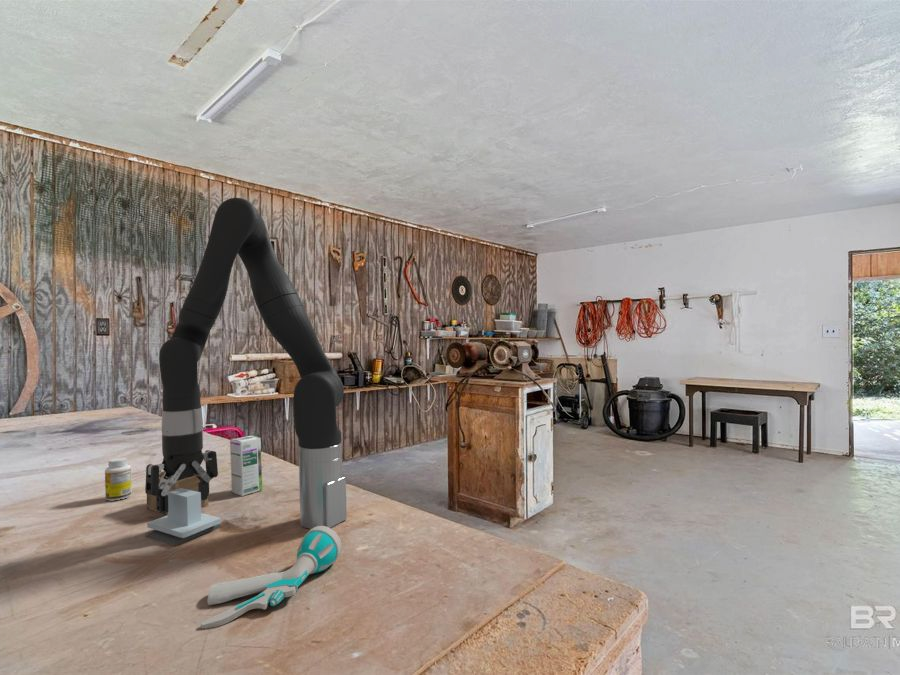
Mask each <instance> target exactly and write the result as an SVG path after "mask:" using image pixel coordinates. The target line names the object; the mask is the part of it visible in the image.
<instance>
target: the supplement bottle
mask: <svg viewBox="0 0 900 675" xmlns="http://www.w3.org/2000/svg"><path fill="white" fill-rule="evenodd" d="M104 479H105V480H104V482H105V483H104V486H105V489H104V490H105V500H106V501H108V500H109V501H108V502H115V501H114V500H118V501H121V500H120V499H123V500H126V499H128V498H130V497H131V496H132V494H133V493H132V489H133V488H132V466H131V465H130V464H128V458H127V457H116V458H111V459H109V460H108V467H106V468H105V469H104ZM125 498H126V499H125Z"/></svg>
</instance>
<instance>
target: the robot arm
mask: <svg viewBox="0 0 900 675" xmlns="http://www.w3.org/2000/svg"><path fill="white" fill-rule="evenodd" d="M211 225H212V226H211V230H210V233H209V236H208V241H207V244H206V247H205V251H204V253H203V256H202V259H201V263H200V266H199V268H198V270H197V273H196V276H195V278H194V281H193V282H192V285H191V287H190V289H189V291H188V293H187V295H186V297H185V299H184V301H183V304H182V306H181V309H180V310H179V313H178V317H177V318H178V320H177V321H178V322H177V325H176V326H175V329H174V331H173V333H172V335H171V337H170V339H167V340H166V341H164V342H163V344H162V345H161V347H160V350H159V353H158V363H159V364H158V365H159V371H160V372H159V373H160V377H161V378H160V379H161V383H162V417H161V446H162V447H161V450H162V451H161V453H162V457H163V459H162V462H161V463H157V464H151V463H149V464H147V465H146V467H145V486H144V487H145V490H144V491H145V494H146V495H147V494H149V495H153V496H156V509H157V511H159V512H158V513H160V514H162V515H166V514H165V513H168V495H167V493H168V491H169V490H170V488H171V487H172V486H173V485H174V484H175V483H176V481H177V480H181V479H184V478H186V477H192V476H196V477H197V478H198V480H199V481H200V482H199V483H198V492H201V500H206V499H207V498H208V499H209V496H210V481H211V480H212V479H214V478H217V477H218V476H219V470H218V469H219V468H218V457H217V451H214V450H209V449H207V450H205V451H204V452H203V449H204V443H203V442H204V438H203V437H204V436H203V435H204V434H203V432H204V431H203V415H202V406H201V388H200V385H199V382H198V362H199V360H200V358H201V357H202V355H203V352H204V349H205V347H206V344H207V340H208V338H209V335H210V332H211V330H212V328H213V326H214V324H215V323H216V320H217V319H218V316H219V314H220V312H221V310H222V308H223V306H224V302H225V301H226V300H225V299H226V296H227V293H228V288H229V284H230V279H231V274H232V270H233V269H232V268H233V266H234V264H235V260H236V257H238V256H239V258H240V260H241V262H242V264H243V266H244V267H245V270H246V273H247V275H248V280H249V282H250V287H251V292H252V296H253V299H254V302H255V305H256V307H257V309H258V310H257V311H259V315H260V316H261V318H262V320H263V323H264V325H265V326H266V328H267V331H269V334H271V336H272V337H273V339H274V340H276V342H277V343H278V344H279V345H280V346H281V347H282V349H283V350H285V352H286V354H287V355H289V357H290V359H292V361H293V364H294V365H295V367H296V369H297V372H298V374H299V377H300V379H299V380H298V381H297V382H296V384H295V388H294V390H293V398H292V399H293V400H292V401H293V402H292V404H293V414H294V415H293V418H294V421H293V422H294V432H295V434H296V437H297V439H298V440H297V441H298V470H299V471H298V473H299V474H298V475H299V478H298V479H299V481H298V482H299V514H300V515H299V516H300V518H299V519H300V521H299V523H300V526H301V527H303V528H306V529H308V530H311V529H312V528H314V527H316V526H326V527H329V528H331V529H332V528H333V527H334V526H336V525H338V524H340V523H342V522H344V521H345V520H347V519H348V517H347V479H346V476H343V454H342V453H343V450H342V449H343V448H342V445H343V444H342V440H343V439H342V431H341V429H340V428H339V427H338V424H337V423H338V422H337V407H338V406H339V405H340V404H341V403H342V401H343V398H344V394H345V391H344V390H345V389H344V388H345V387H344V384H343V382H342V380H341V377H340V376H339V374H338V373H337V371H336V369H335V368H334V366H333V364H332V363H331V361H330V360H329V358H328V356H327V354H326V352H325V351H324V349H323V348H322V346H321V343H320V341H319V338H318V336H317V334H316V330H315V329H314V327H313V324H312V322H311V320H310V318H309V316H308V314H307V310H306V308H305V306H304V304H303V302H302V299H301V297H300V296H299V293H298V292H297V289H296V287H295V286H294V285H293V282H292V280H291V279H290V277H289V275H288V274H287V272H286V271H285V269H284V267H283V265H281V262H280V261H279V259H278V257H277V255H276V252H275V249H274V247H273V244H272V242H271V239H270V236H269V233H268V230H267V226H266V222H265V221H264V218H263V217H262V215H261V214H260V212H259V211H258V210H257V208H256V207H255V206H254V205H253V204H252V203H251V202H250V201H248V200H246V199H245V198H241V197H231V198H227V199H226V200H224V201H222V202H221V203H220V204H219V206H218V208H216V211H215V214H214V217H213V221H212V224H211ZM203 461H204V462H205V469H204V468H203V466H201V465H202V463H203ZM162 470H163V471H165V473H164V475H163V476H162V478H161V479H160V483H159V474H161V472H162ZM169 477H171V478H170V479H169ZM168 479H169V480H168ZM157 511H156V512H157Z"/></svg>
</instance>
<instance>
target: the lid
mask: <svg viewBox="0 0 900 675" xmlns="http://www.w3.org/2000/svg"><path fill="white" fill-rule="evenodd" d="M167 495H168V514H166V515H165V516H162V517H159V518H156V519H154V520H151V521H148V522H147V524H146V525H147V528H148V529H152V530H154V531H155V530H158V531H161V532H164V533H167V534H171V535H174V536H177V537H180V538H185V537H189V536H191V535H194V534H196V533H198V532H201V531H203V530H206V529H208V528H210V527H212V526H214V525H217V524H222V517H219V516H215V515H210V514H208V513H203V512H202V508H201V492H196V491H192V490H187V489H183V488H179V489H176V490H173V491H170V492H168V493H167Z"/></svg>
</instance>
